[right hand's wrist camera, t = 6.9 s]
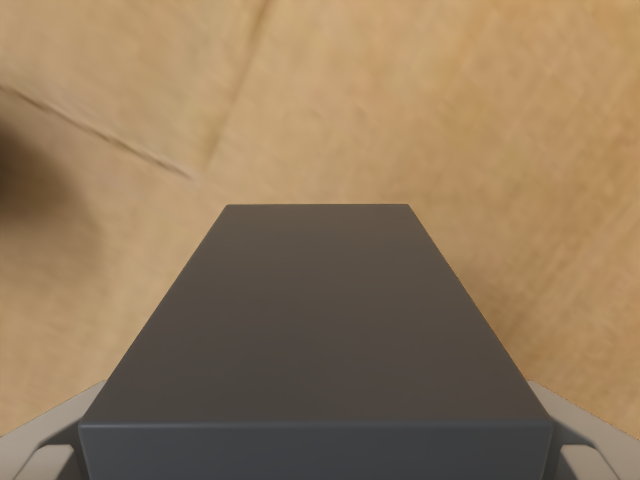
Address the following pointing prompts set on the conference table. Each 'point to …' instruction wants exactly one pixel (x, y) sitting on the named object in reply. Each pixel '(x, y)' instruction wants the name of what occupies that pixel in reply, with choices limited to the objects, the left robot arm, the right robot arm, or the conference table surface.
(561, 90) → the conference table surface
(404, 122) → the conference table surface
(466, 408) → the bar
